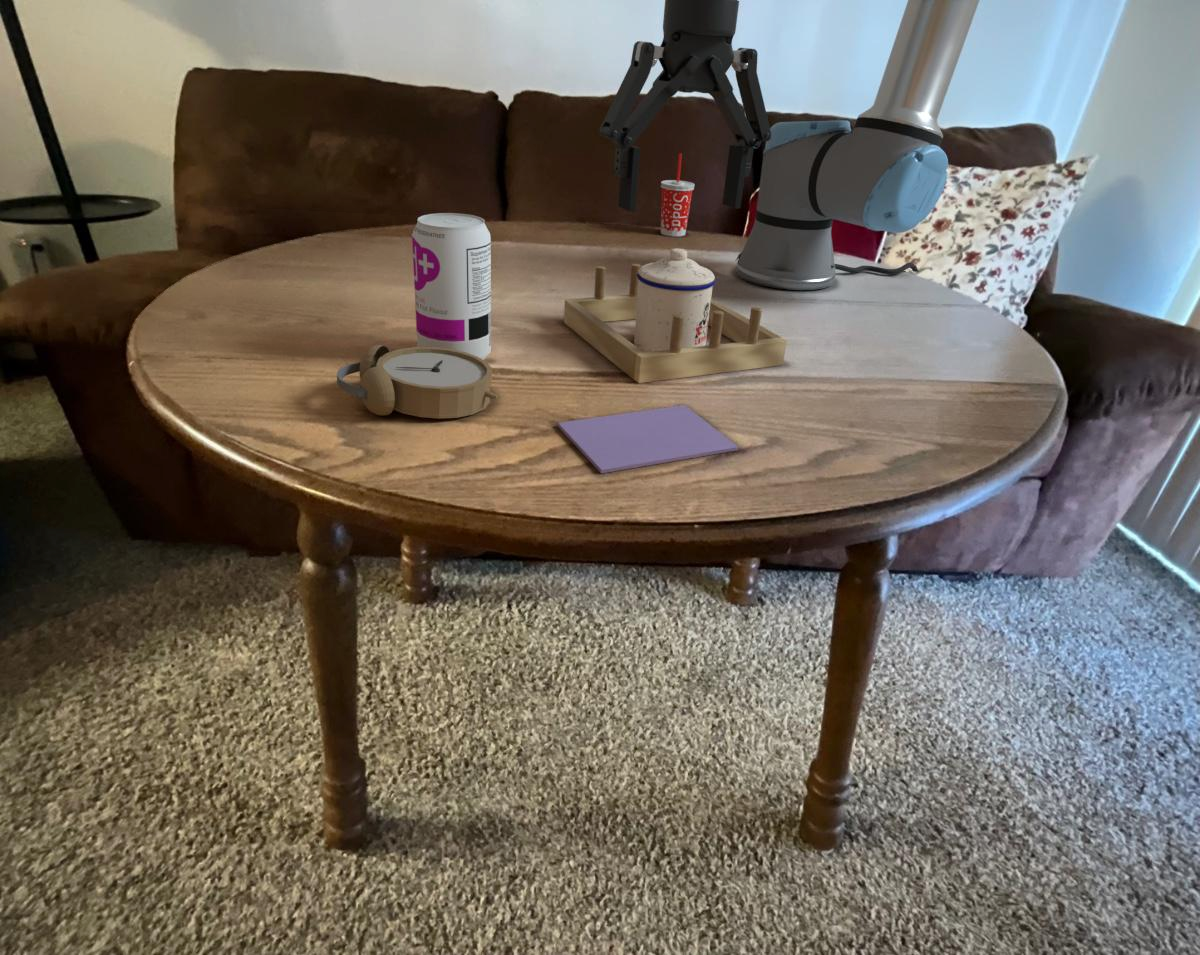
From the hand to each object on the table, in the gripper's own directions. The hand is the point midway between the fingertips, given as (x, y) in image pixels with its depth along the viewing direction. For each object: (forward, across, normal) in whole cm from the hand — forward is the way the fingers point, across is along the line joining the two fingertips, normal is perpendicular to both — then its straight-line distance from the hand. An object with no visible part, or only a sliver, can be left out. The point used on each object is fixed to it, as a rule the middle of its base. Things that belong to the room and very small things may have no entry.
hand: (680, 208), depth 96 cm
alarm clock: (+17, +33, +8) cm, 37 cm away
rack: (+16, 0, 0) cm, 16 cm away
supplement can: (+16, +26, -3) cm, 31 cm away
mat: (+16, +15, +23) cm, 32 cm away
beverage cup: (+16, -30, -53) cm, 63 cm away
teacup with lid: (+16, 0, 0) cm, 16 cm away
